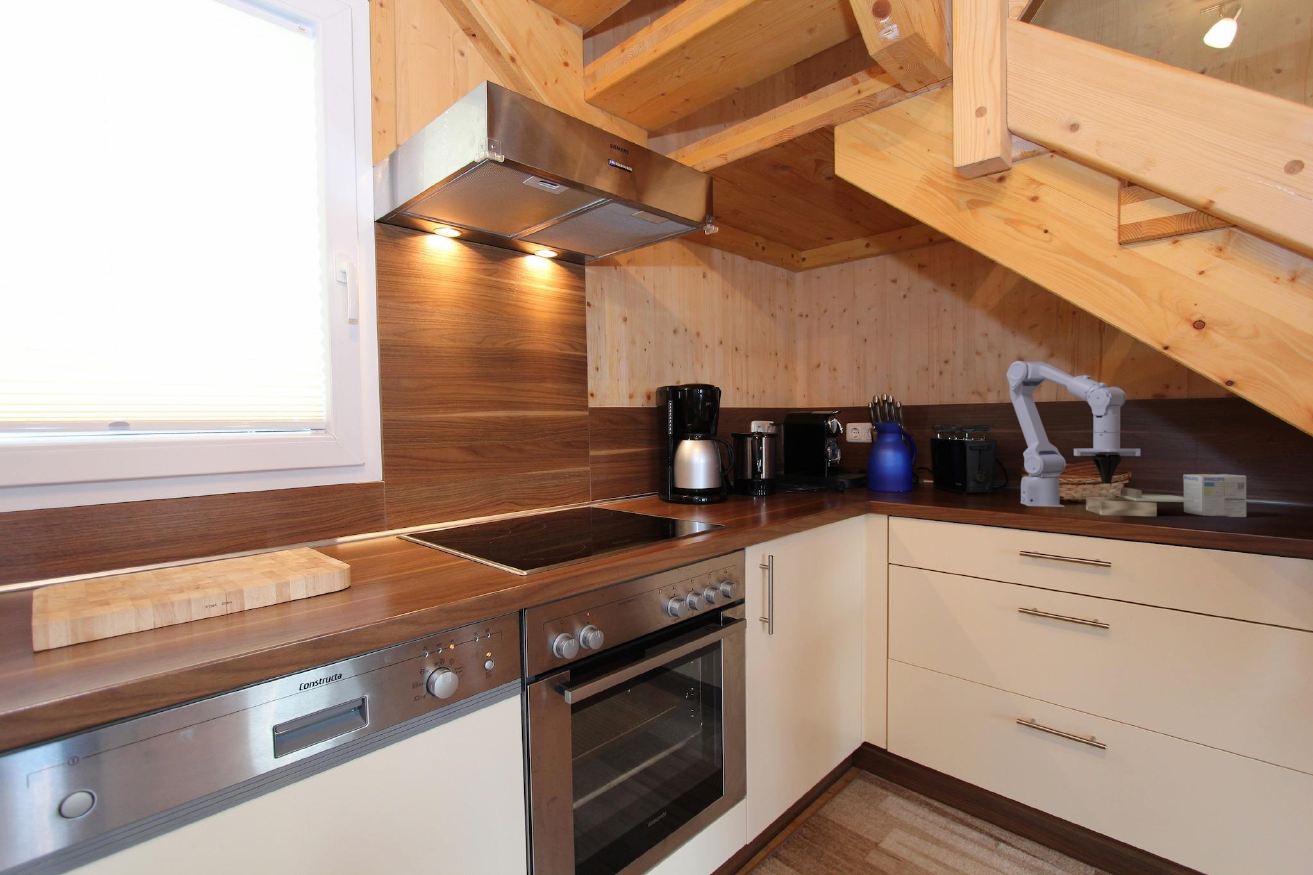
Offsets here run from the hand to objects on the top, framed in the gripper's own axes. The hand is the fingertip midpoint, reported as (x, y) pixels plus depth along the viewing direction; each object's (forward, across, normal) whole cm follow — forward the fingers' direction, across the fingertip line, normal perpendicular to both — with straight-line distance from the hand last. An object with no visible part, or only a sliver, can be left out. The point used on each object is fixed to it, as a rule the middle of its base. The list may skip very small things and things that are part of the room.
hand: (1106, 482), depth 158 cm
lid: (+4, +11, 0) cm, 11 cm away
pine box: (+8, +3, 0) cm, 9 cm away
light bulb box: (+9, +25, +3) cm, 27 cm away
